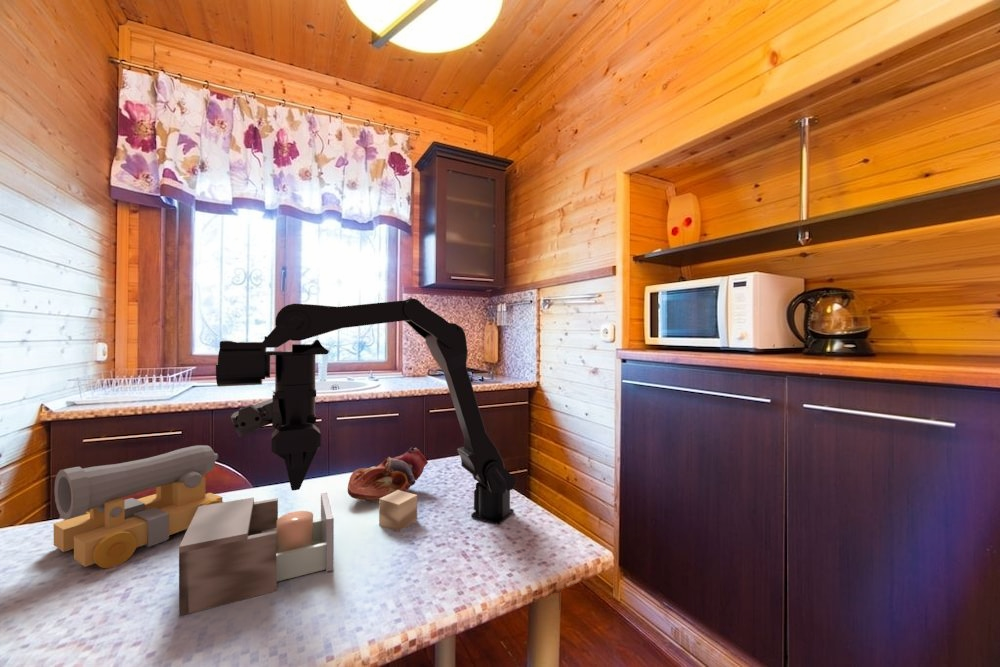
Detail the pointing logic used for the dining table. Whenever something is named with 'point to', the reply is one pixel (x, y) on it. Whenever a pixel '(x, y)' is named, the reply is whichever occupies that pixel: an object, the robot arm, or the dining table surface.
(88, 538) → the toy cannon
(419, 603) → the dining table surface
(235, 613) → the dining table surface
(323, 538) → the drawer
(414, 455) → the anatomical model
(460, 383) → the robot arm
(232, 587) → the housing
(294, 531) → the tan rounded cylinder
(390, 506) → the block
